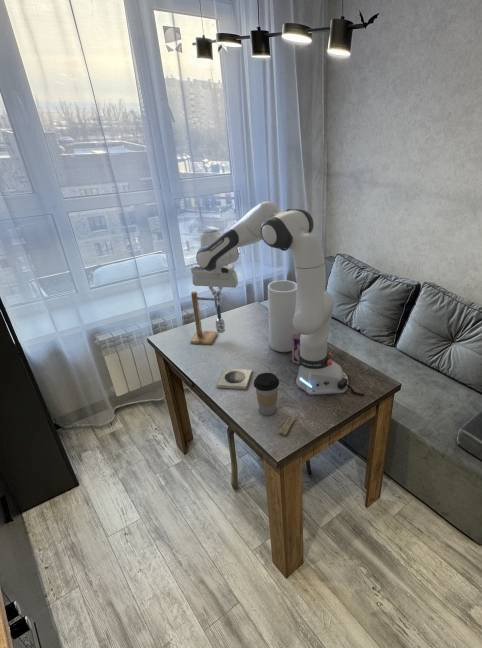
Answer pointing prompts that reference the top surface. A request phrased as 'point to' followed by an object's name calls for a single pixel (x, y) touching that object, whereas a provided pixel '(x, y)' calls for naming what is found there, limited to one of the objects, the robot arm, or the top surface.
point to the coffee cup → (267, 392)
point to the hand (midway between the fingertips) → (216, 294)
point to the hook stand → (200, 335)
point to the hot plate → (234, 378)
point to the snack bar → (287, 425)
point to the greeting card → (295, 348)
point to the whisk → (219, 316)
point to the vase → (281, 314)
